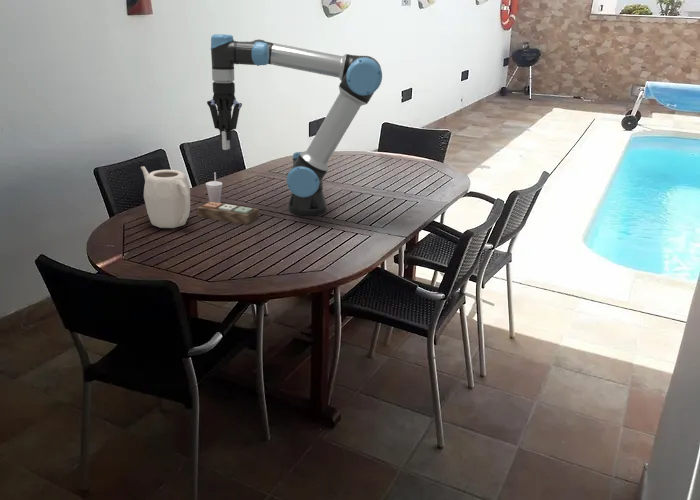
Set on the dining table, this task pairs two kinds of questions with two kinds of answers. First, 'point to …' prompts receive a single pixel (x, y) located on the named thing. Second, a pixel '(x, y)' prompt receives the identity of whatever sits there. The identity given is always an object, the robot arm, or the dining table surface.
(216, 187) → the smoothie
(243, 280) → the dining table surface
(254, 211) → the button board
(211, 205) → the orange square block
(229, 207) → the white square block
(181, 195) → the watering can
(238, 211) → the pale green block
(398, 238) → the dining table surface
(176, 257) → the dining table surface
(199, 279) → the dining table surface
